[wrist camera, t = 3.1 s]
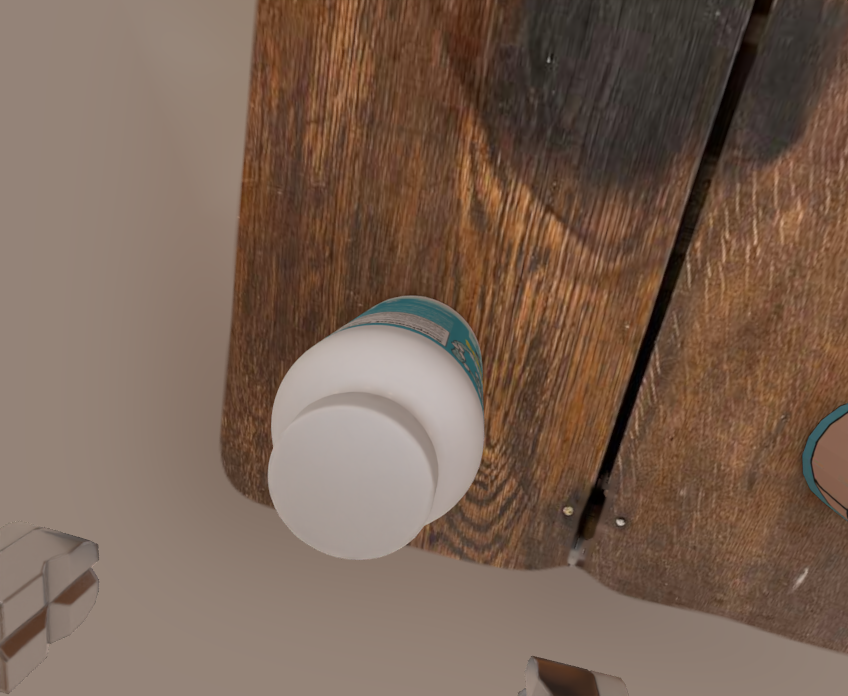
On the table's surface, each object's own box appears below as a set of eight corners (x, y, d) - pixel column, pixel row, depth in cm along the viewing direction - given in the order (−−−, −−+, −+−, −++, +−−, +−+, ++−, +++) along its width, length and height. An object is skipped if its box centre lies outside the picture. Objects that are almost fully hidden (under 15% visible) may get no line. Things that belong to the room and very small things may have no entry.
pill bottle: (464, 436, 26) (449, 635, 13) (339, 404, 27) (206, 567, 14) (498, 309, 24) (518, 396, 11) (362, 277, 25) (232, 326, 12)
